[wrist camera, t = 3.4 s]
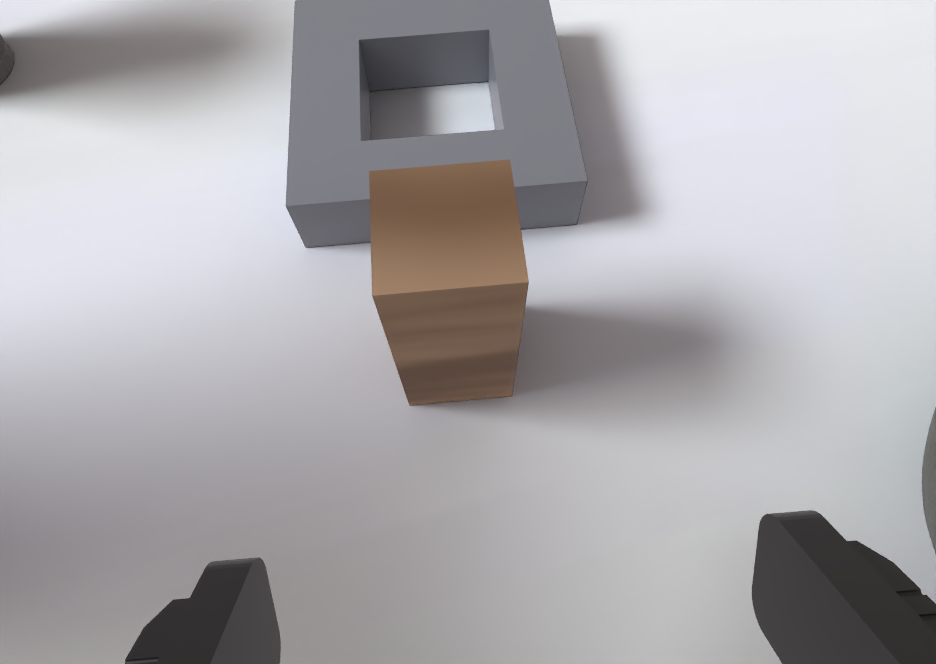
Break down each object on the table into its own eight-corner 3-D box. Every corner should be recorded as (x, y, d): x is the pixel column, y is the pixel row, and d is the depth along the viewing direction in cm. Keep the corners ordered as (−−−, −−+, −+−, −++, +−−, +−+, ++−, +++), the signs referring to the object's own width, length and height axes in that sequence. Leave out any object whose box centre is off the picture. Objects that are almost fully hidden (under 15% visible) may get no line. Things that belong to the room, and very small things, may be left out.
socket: (576, 224, 27) (587, 180, 24) (305, 247, 27) (285, 206, 24) (539, 34, 32) (544, -19, 29) (310, 52, 32) (295, 0, 29)
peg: (511, 396, 24) (528, 281, 16) (409, 405, 24) (372, 295, 15) (500, 305, 25) (510, 159, 17) (405, 313, 25) (368, 171, 17)
